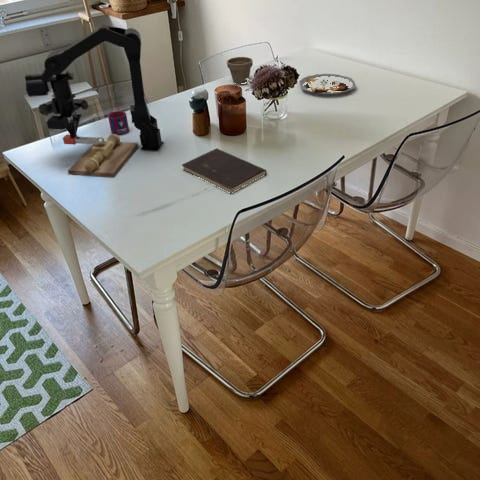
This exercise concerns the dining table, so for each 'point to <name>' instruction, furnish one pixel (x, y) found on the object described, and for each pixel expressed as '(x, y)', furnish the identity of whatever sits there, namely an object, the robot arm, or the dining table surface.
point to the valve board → (105, 164)
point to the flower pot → (240, 68)
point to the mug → (118, 122)
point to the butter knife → (196, 193)
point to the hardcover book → (223, 170)
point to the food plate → (318, 90)
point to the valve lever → (82, 140)
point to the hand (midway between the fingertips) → (73, 137)
